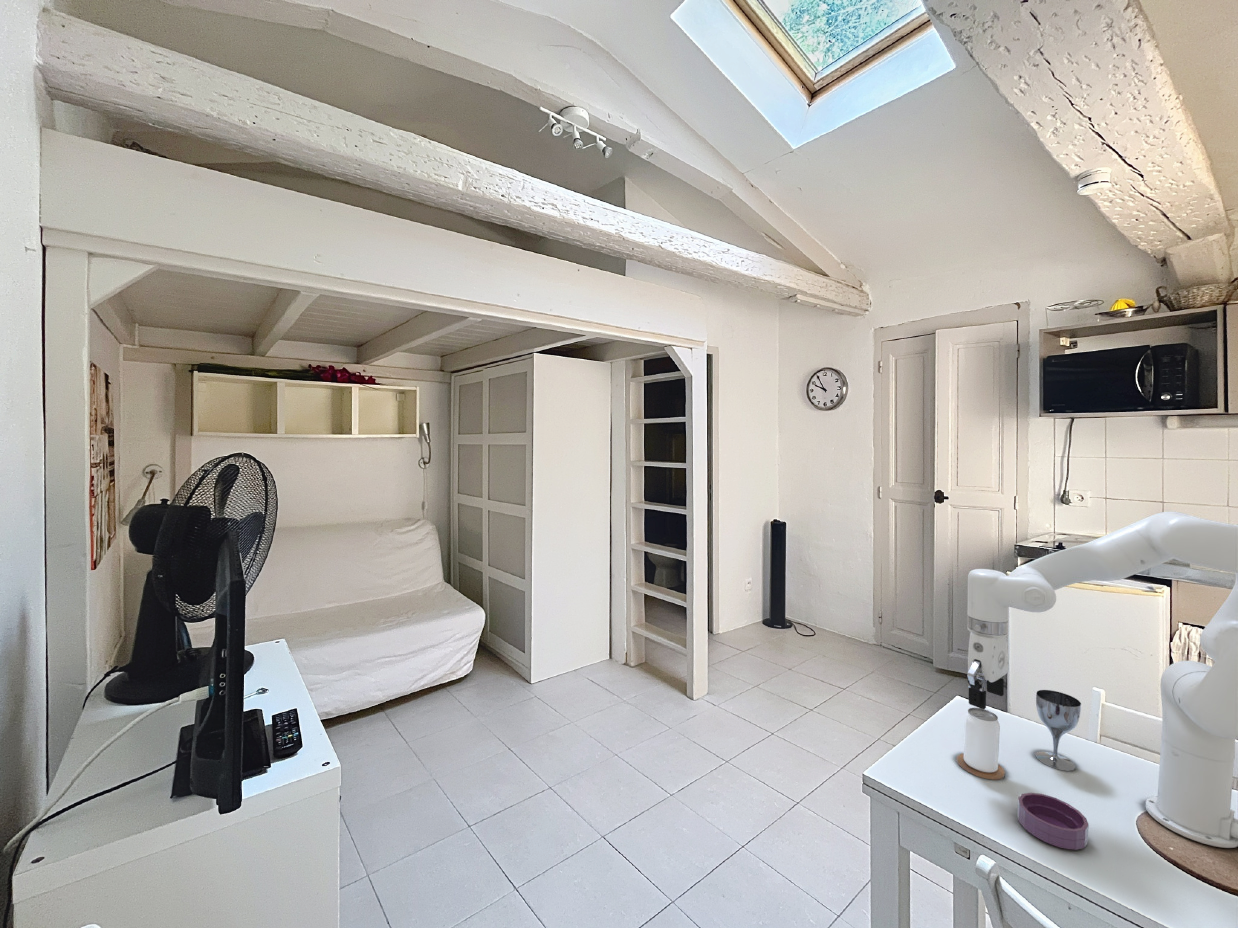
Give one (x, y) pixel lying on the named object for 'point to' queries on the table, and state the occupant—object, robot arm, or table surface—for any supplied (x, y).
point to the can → (981, 740)
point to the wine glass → (1057, 723)
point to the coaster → (993, 776)
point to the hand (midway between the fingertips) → (986, 699)
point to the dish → (1053, 821)
